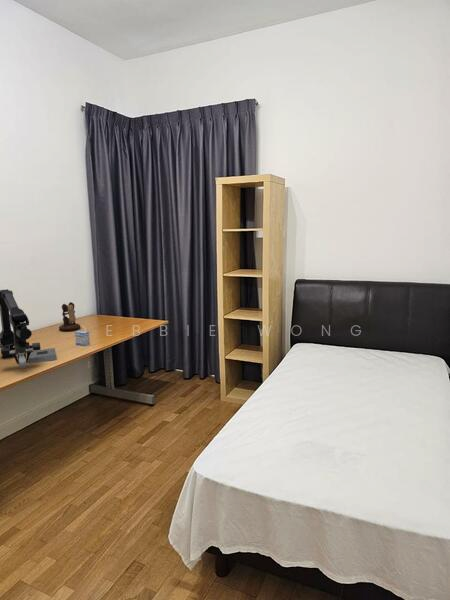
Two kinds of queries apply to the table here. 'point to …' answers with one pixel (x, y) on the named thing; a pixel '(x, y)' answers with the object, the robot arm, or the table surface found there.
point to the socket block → (42, 355)
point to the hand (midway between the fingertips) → (22, 363)
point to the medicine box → (82, 338)
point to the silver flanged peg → (22, 360)
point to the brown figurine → (69, 322)
